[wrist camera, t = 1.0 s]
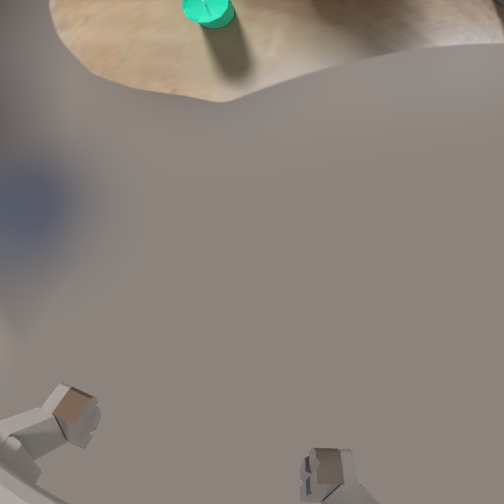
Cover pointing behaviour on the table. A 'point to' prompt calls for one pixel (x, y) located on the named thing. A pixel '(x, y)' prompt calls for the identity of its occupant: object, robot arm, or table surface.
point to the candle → (209, 12)
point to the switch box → (500, 2)
